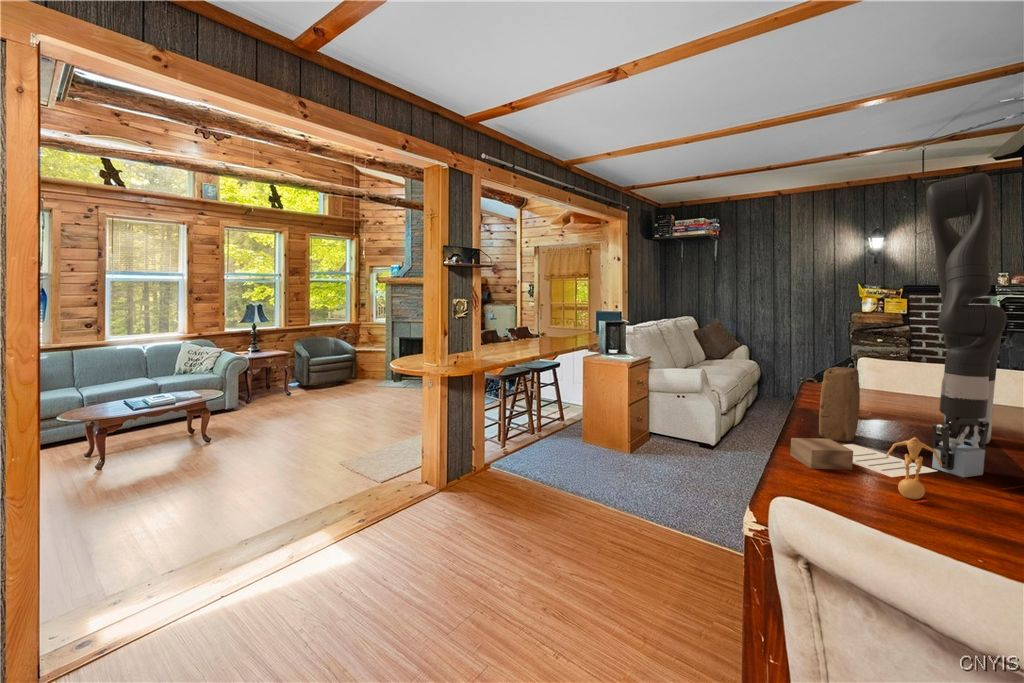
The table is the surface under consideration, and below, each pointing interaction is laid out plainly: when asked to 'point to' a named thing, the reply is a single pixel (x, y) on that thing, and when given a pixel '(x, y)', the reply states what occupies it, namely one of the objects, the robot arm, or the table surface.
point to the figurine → (913, 486)
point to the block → (839, 404)
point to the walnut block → (821, 453)
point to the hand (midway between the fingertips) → (957, 467)
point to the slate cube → (964, 461)
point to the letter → (882, 462)
